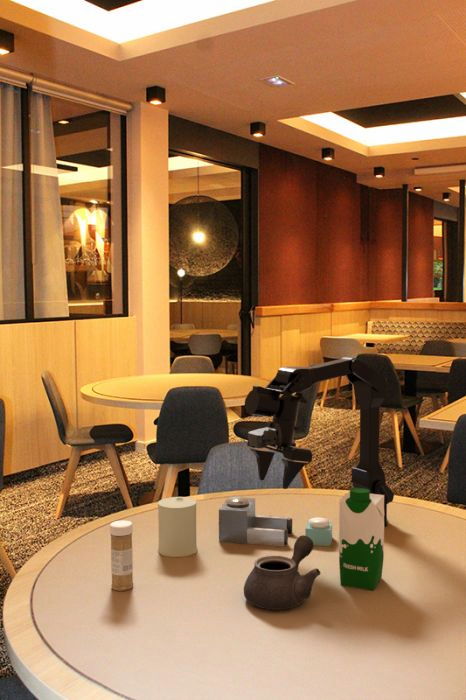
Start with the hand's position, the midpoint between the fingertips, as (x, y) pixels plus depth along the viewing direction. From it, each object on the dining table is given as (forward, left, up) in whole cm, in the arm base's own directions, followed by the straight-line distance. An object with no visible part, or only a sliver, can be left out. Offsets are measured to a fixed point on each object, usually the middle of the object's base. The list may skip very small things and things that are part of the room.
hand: (272, 484), depth 169 cm
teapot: (-8, +27, -15) cm, 32 cm away
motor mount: (+5, -5, -15) cm, 17 cm away
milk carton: (-22, +18, -15) cm, 32 cm away
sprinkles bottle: (+26, +31, -15) cm, 43 cm away
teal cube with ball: (-11, -5, -15) cm, 19 cm away
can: (+21, +8, -15) cm, 27 cm away
